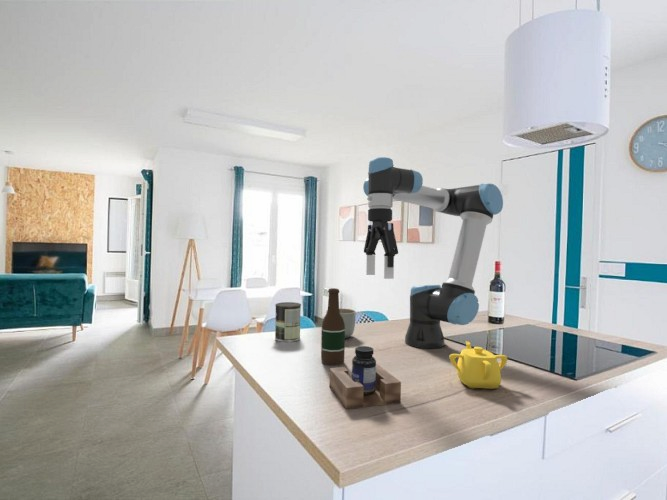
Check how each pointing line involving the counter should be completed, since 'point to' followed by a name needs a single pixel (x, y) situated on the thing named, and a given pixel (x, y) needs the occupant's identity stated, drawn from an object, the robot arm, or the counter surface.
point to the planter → (348, 320)
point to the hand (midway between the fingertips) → (379, 276)
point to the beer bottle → (333, 332)
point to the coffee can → (287, 321)
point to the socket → (353, 391)
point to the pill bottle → (364, 369)
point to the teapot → (478, 367)
